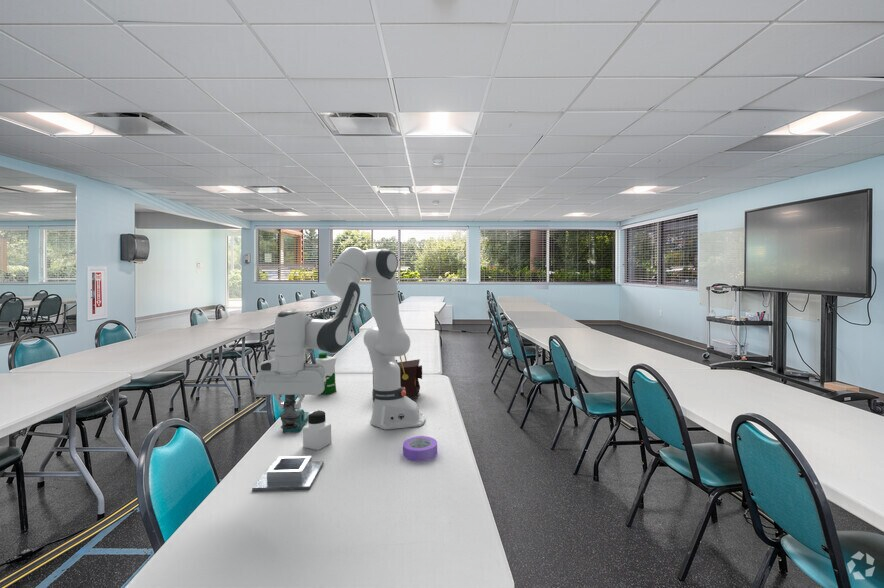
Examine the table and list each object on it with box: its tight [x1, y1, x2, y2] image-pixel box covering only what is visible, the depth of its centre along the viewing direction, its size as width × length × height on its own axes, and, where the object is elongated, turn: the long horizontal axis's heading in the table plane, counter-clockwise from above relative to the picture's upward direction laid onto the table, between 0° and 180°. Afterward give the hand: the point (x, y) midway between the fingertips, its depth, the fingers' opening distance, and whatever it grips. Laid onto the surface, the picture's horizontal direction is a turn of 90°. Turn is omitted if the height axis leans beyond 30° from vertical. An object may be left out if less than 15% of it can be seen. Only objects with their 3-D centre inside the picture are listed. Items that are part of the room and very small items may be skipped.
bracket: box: [281, 408, 310, 433], centre depth 168 cm, size 18×7×8 cm, turn 5°
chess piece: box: [279, 395, 300, 430], centre depth 124 cm, size 6×6×12 cm
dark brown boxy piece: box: [372, 354, 423, 397], centre depth 203 cm, size 16×23×25 cm
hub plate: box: [251, 455, 325, 492], centre depth 124 cm, size 16×16×4 cm
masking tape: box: [402, 435, 438, 462], centre depth 139 cm, size 12×12×4 cm
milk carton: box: [314, 352, 337, 395], centre depth 213 cm, size 9×9×20 cm
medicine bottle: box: [302, 410, 332, 451], centre depth 147 cm, size 7×7×12 cm
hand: (290, 408), depth 124 cm, fingers closed on chess piece, 3 cm apart
